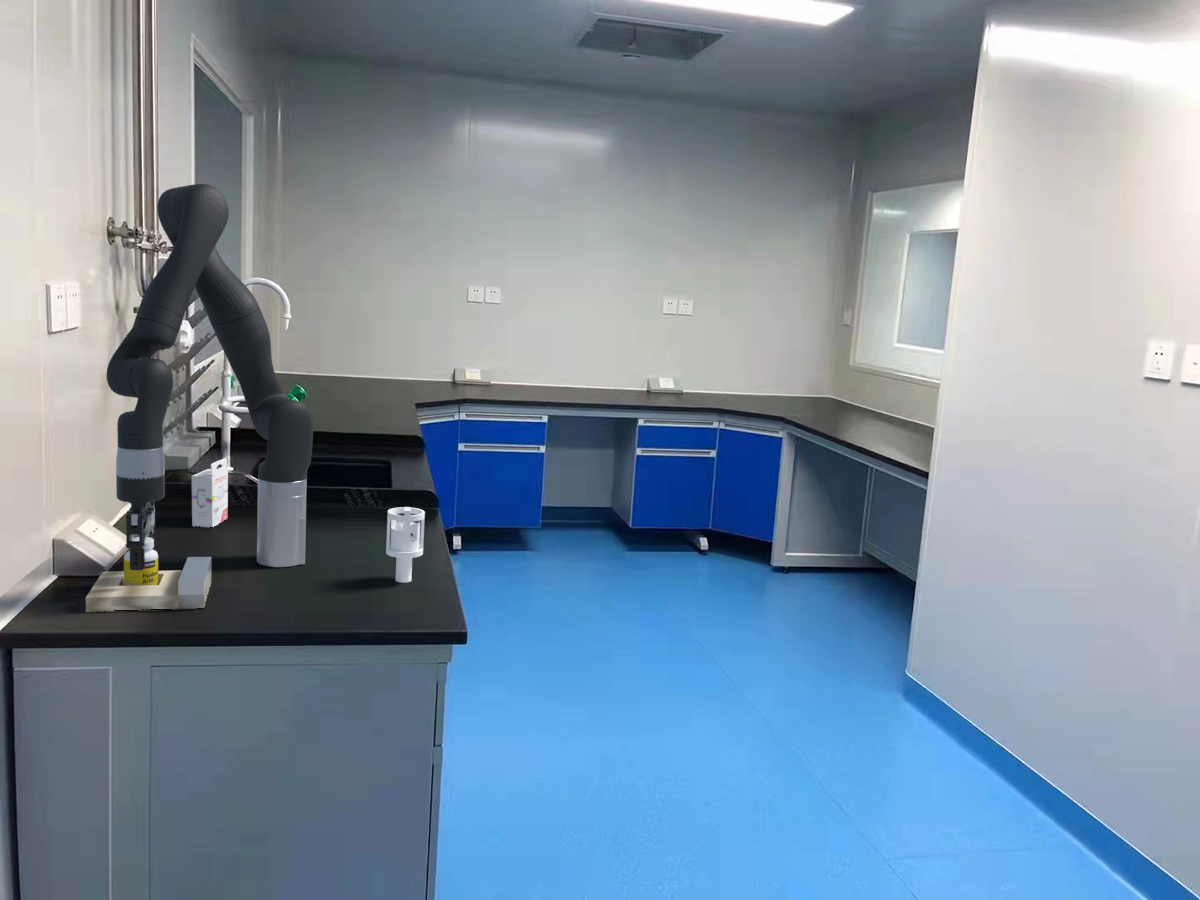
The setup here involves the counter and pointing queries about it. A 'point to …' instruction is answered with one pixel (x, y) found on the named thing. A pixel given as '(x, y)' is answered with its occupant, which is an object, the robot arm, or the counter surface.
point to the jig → (154, 589)
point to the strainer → (405, 539)
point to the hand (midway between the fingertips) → (141, 562)
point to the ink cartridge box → (210, 495)
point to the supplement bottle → (150, 570)
